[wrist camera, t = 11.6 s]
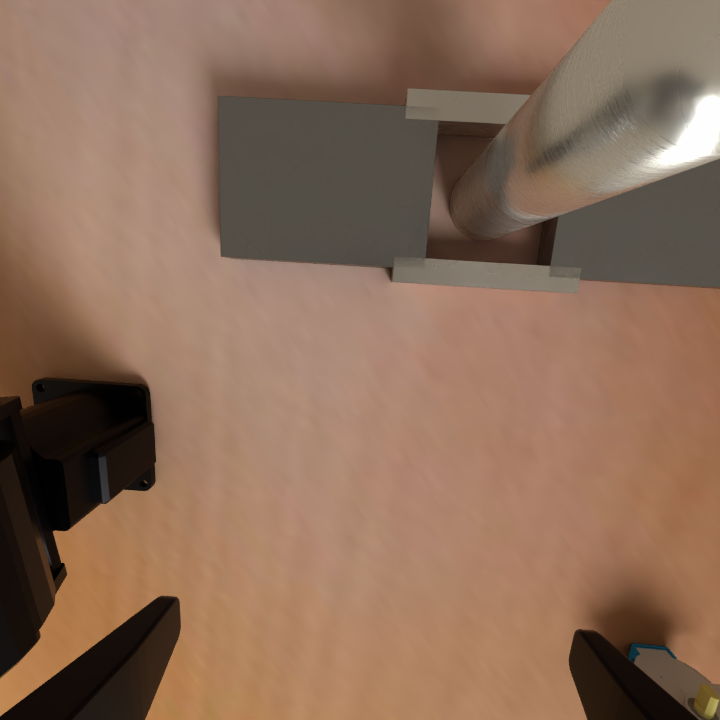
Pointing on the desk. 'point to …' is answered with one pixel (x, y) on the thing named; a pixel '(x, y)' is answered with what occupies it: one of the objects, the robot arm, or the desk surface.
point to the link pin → (603, 119)
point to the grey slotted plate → (413, 198)
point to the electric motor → (678, 680)
